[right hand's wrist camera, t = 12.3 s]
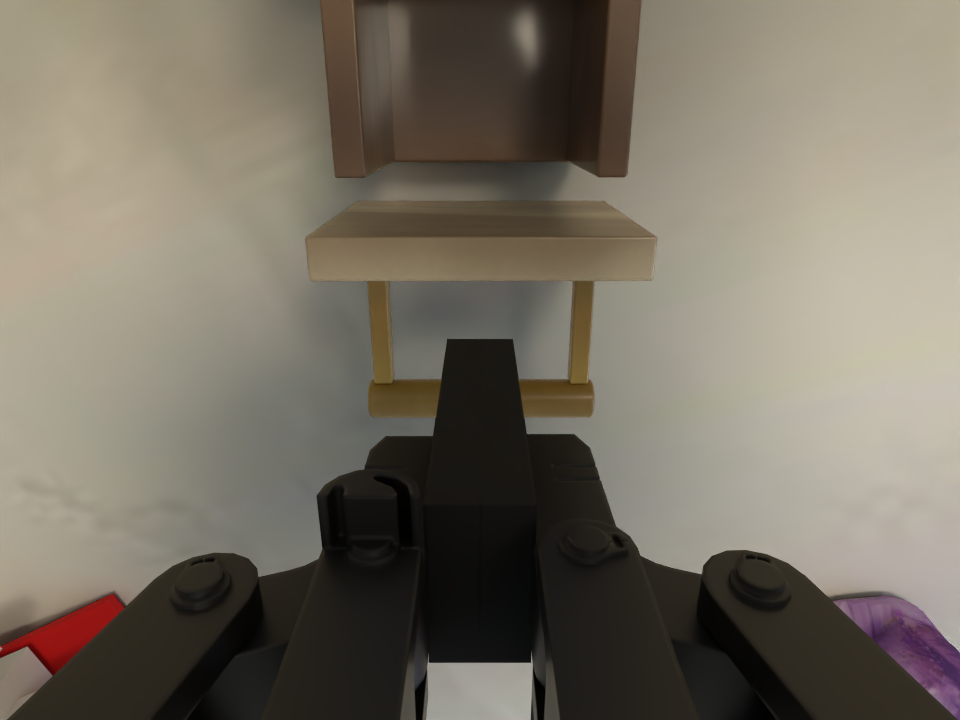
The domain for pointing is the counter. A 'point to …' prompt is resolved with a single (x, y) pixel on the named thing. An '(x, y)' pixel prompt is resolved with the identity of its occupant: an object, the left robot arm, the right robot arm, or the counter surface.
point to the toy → (48, 651)
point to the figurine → (910, 644)
